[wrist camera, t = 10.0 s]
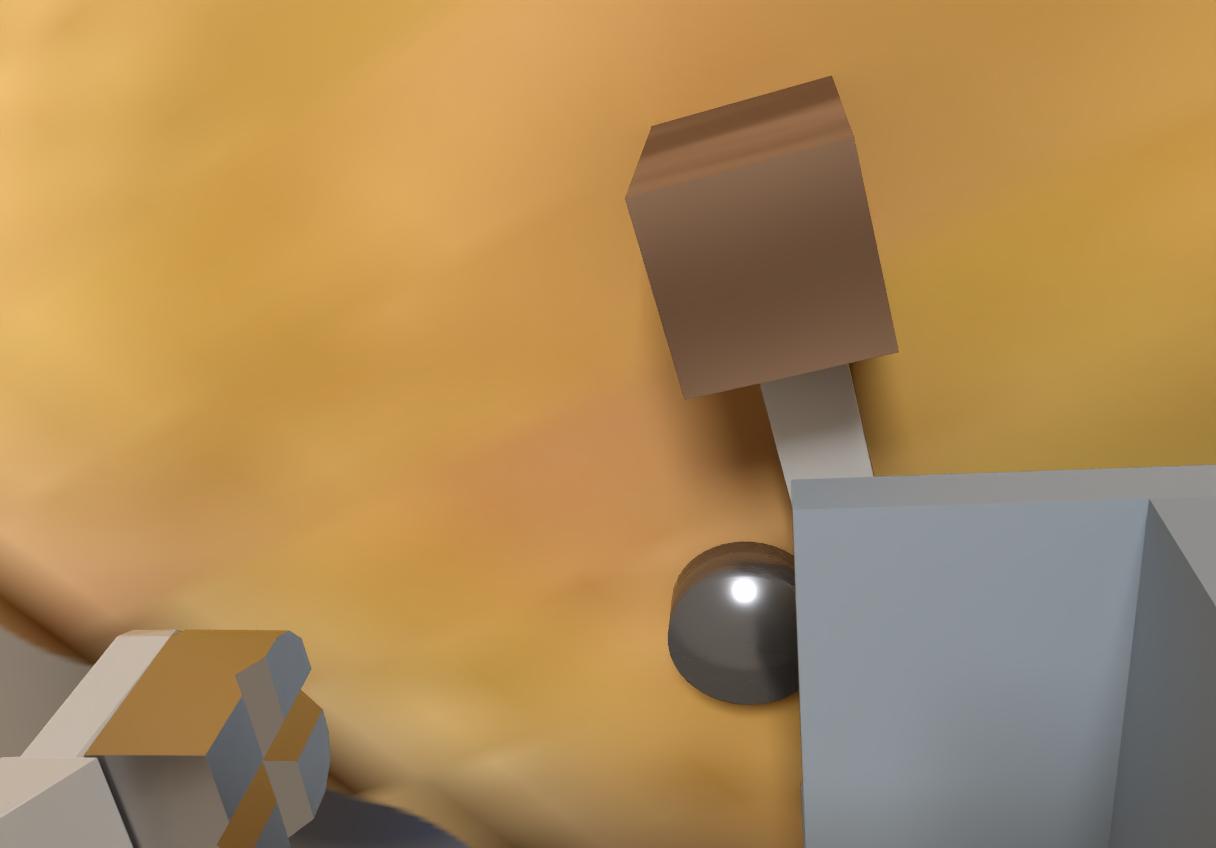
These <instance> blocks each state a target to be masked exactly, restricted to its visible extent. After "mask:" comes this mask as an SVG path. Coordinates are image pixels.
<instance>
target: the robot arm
mask: <svg viewBox="0 0 1216 848" xmlns="http://www.w3.org/2000/svg"><path fill="white" fill-rule="evenodd" d="M310 671H311V666H310V663H309V660H308V657H307V654H306V651H305V648H304V645H303V642H302V639H301V638H300V637H298V636H297V635H295V634H294V633H292V632H291V631H280V630H184V631H180V630H133V631H130V632H127V633H125V634H122V635H120V636H117V638H116V639H115V640H114V641H113V643H112V644H111V645H110V646H109V647H108V649H107V650H106V651H105V652H104V654H103V655H102V656H101V657H100V659H99V660H98V661H97V662H96V664H95V665H94V666H93V667H92V669H91V670H90V671H89V672H88V674H87V675H86V676H85V677H84V679H83V680H82V681H81V682H80V683H79V685H78V686H77V687H76V688H75V690H74V691H73V692H72V693H71V695H70V696H69V697H68V698H67V700H66V701H65V702H64V703H63V705H62V706H61V707H60V708H59V710H58V711H57V712H56V713H55V714H54V716H53V717H52V718H51V719H50V721H49V722H48V723H47V724H46V726H45V727H44V728H43V729H42V731H41V732H40V733H39V735H38V736H37V737H36V738H35V739H34V741H33V742H32V743H31V744H30V745H29V747H28V748H27V749H26V750H25V752H24V753H23V754H22V755H21V757H2V758H1V759H0V848H291V846H290V843H289V839H288V838H289V837H290V836H291V835H293V834H294V833H295V832H296V831H298V830H299V829H300V828H301V827H303V826H304V825H306V824H307V823H308V822H309V821H311V820H312V819H313V818H314V816H315V814H316V812H317V809H318V807H319V805H320V802H321V800H322V797H323V795H324V793H325V789H326V783H327V776H328V770H329V764H330V744H329V731H328V728H327V724H326V720H325V716H324V712H323V709H322V708H321V707H320V706H318V705H317V704H316V703H315V702H314V701H313V700H312V699H311V698H310V697H308V696H307V695H306V694H305V693H304V692H303V691H302V690H301V688H302V686H303V684H304V682H305V680H306V678H307V676H308V674H309V673H310Z"/></svg>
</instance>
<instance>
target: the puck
mask: <svg viewBox="0 0 1216 848" xmlns="http://www.w3.org/2000/svg"><path fill="white" fill-rule="evenodd" d="M668 646H669V652H670V655H671V658H672V660H673V662H674V664H675V666H676V668H677V669H678V671H679V672H680V673H681V675H682V676H683V677H684V678H685V679H686V680H687V681H688V682H689V683H690V684H691V685H693V686H694V687H695V688H697V689H698V690H700V691H701V692H703V693H705V694H707V695H709V696H711V697H713V698H716V699H719V700H722V701H726V702H730V703H736V704H749V705H751V704H763V703H769V702H773V701H776V700H780V699H782V698H785V697H787V696H789V695H791V694H793V693H795V692H797V691H798V690H799V675H798V649H797V623H796V597H795V571H794V556H793V555H791V554H790V553H788V552H786V551H784V550H782V549H779V548H777V547H774V546H771V545H767V544H763V543H756V542H734V543H728V544H723V545H720V546H717V547H714V548H711V549H709V550H707V551H705V552H703V553H702V554H700V555H698V556H697V557H696V558H694V559H693V560H692V561H691V562H690V563H689V564H688V565H687V566H686V567H685V568H684V569H683V571H682V572H681V574H680V575H679V577H678V579H677V581H676V583H675V586H674V590H673V595H672V603H671V612H670V621H669V630H668Z"/></svg>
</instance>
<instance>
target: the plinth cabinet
mask: <svg viewBox="0 0 1216 848" xmlns="http://www.w3.org/2000/svg"><path fill="white" fill-rule="evenodd" d="M791 493H792V519H793V545H794V571H795V597H796V623H797V649H798V675H799V701H800V728H801V754H802V780H803V784H801V804H802V826H803V846H804V848H1216V465H1190V466H1162V467H1134V468H1106V469H1077V470H1049V471H1021V472H993V473H964V474H936V475H908V476H880V477H851V478H823V479H795V480H791Z"/></svg>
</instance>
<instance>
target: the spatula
mask: <svg viewBox="0 0 1216 848" xmlns="http://www.w3.org/2000/svg"><path fill="white" fill-rule="evenodd" d="M625 200H626V203H627V207H628V210H629V214H630V217H631V220H632V224H633V227H634V230H635V234H636V237H637V241H638V244H639V247H640V251H641V254H642V257H643V261H644V264H645V268H646V271H647V274H648V278H649V281H650V284H651V288H652V291H653V295H654V298H655V301H656V305H657V308H658V311H659V315H660V318H661V322H662V325H663V328H664V332H665V335H666V338H667V342H668V345H669V349H670V352H671V355H672V359H673V362H674V365H675V369H676V372H677V376H678V379H679V382H680V386H681V389H682V392H683V396H684V399H685V400H687V399H692V398H696V397H701V396H705V395H710V394H714V393H719V392H723V391H728V390H732V389H736V388H741V387H745V386H750V385H754V384H759V383H760V387H761V391H762V394H763V398H764V402H765V406H766V410H767V413H768V417H769V421H770V425H771V428H772V432H773V436H774V440H775V443H776V447H777V451H778V455H779V459H780V462H781V466H782V470H783V474H784V477H785V481H786V485H787V489H788V492H789V496H790V500H791V504H792V493H791V480H795V479H823V478H851V477H874V473H873V469H872V464H871V460H870V455H869V451H868V447H867V442H866V438H865V434H864V429H863V425H862V421H861V416H860V412H859V407H858V403H857V399H856V394H855V390H854V386H853V381H852V377H851V372H850V368H849V364H848V363H853V362H857V361H862V360H866V359H871V358H875V357H879V356H884V355H888V354H893V353H897V352H899V351H898V346H897V341H896V336H895V331H894V327H893V322H892V317H891V312H890V308H889V303H888V298H887V293H886V288H885V284H884V279H883V274H882V269H881V264H880V260H879V255H878V250H877V245H876V240H875V236H874V231H873V226H872V221H871V216H870V212H869V207H868V202H867V197H866V192H865V188H864V183H863V178H862V173H861V168H860V164H859V159H858V154H857V149H856V144H855V140H854V136H853V133H852V130H851V127H850V125H849V122H848V119H847V116H846V114H845V111H844V108H843V105H842V103H841V100H840V97H839V94H838V92H837V89H836V86H835V83H834V81H833V78H832V76H829V77H825V78H822V79H818V80H815V81H811V82H808V83H804V84H801V85H797V86H793V87H790V88H786V89H783V90H779V91H776V92H772V93H769V94H765V95H761V96H758V97H754V98H751V99H747V100H744V101H740V102H737V103H733V104H729V105H726V106H722V107H719V108H715V109H712V110H708V111H705V112H701V113H697V114H694V115H690V116H687V117H683V118H680V119H676V120H672V121H669V122H665V123H662V124H658V125H655V126H652V127H651V130H650V133H649V135H648V138H647V141H646V143H645V146H644V149H643V151H642V154H641V157H640V159H639V162H638V165H637V167H636V170H635V173H634V176H633V178H632V181H631V184H630V186H629V189H628V192H627V194H626V197H625Z"/></svg>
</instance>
